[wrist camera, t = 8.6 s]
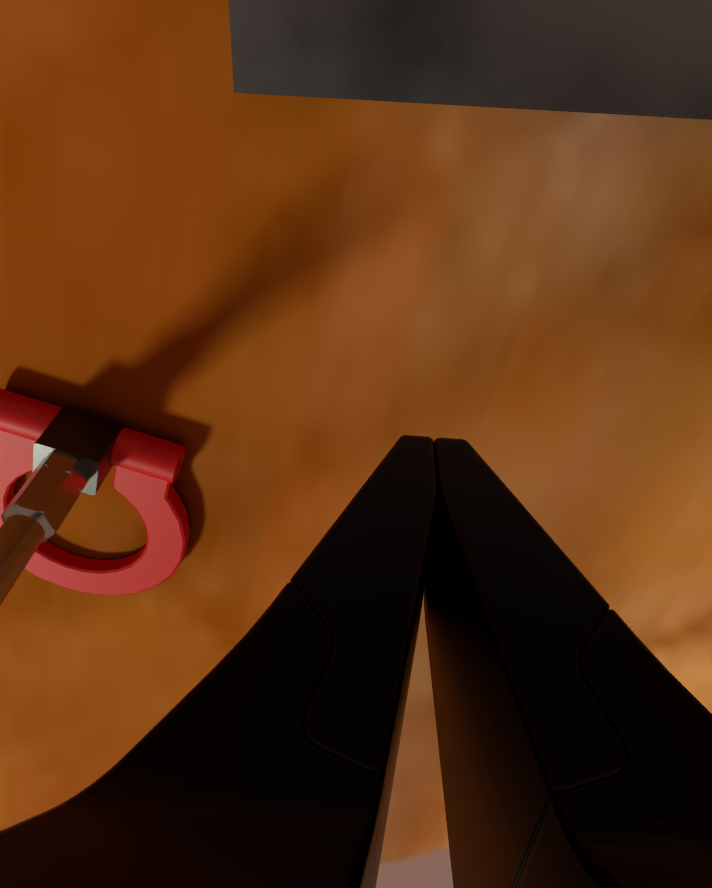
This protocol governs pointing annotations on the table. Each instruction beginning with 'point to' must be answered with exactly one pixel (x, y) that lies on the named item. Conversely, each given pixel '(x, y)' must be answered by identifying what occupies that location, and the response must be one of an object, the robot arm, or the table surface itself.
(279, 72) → the hinge
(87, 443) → the tow hook
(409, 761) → the table surface
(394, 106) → the table surface
